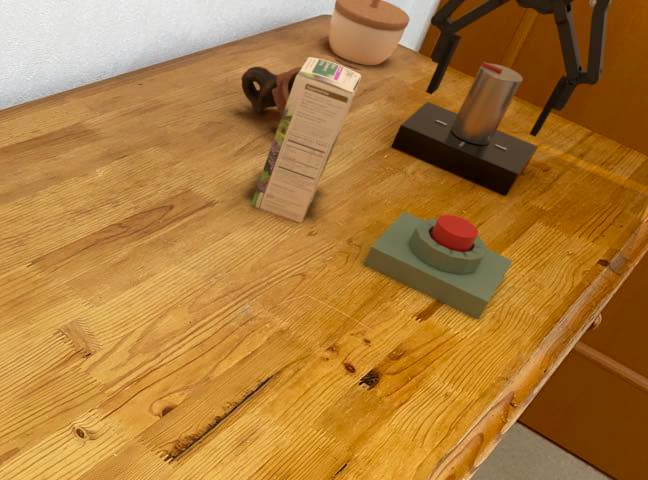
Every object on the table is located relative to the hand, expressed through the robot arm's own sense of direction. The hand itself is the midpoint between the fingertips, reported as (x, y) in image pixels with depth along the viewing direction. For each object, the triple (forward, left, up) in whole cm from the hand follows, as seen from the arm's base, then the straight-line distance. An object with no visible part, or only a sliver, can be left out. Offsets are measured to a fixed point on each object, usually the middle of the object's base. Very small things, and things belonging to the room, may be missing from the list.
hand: (482, 111), depth 104 cm
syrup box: (+11, +31, -6) cm, 33 cm away
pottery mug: (+20, +13, -6) cm, 25 cm away
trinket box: (+22, -18, -6) cm, 29 cm away
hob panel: (0, 0, -6) cm, 6 cm away
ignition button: (-6, +30, -3) cm, 31 cm away
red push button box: (-6, +30, -6) cm, 31 cm away
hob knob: (0, 0, -3) cm, 3 cm away
